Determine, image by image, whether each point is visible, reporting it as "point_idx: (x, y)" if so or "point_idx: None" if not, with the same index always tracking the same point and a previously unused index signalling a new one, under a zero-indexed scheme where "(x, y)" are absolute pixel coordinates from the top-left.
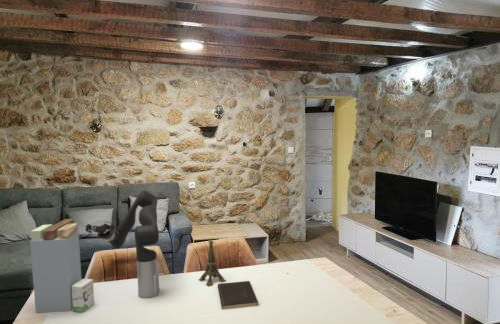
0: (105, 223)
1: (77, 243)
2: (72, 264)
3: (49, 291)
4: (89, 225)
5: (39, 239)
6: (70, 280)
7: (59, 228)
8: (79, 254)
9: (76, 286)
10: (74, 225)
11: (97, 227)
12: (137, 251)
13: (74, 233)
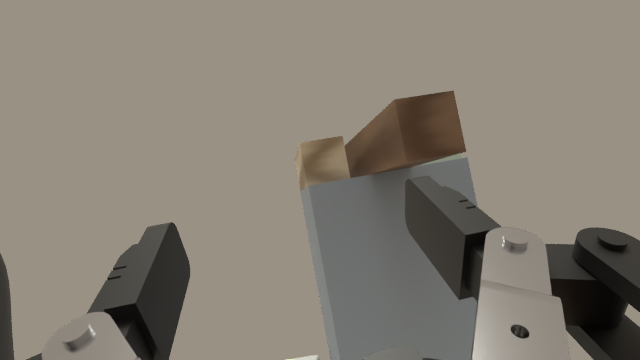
0: (152, 226)
1: (316, 242)
2: (322, 302)
3: None
4: (422, 207)
5: None
6: (328, 345)
7: (347, 150)
8: (330, 309)
9: (301, 357)
10: (298, 150)
11: (411, 356)
12: (13, 353)
13: (304, 186)
